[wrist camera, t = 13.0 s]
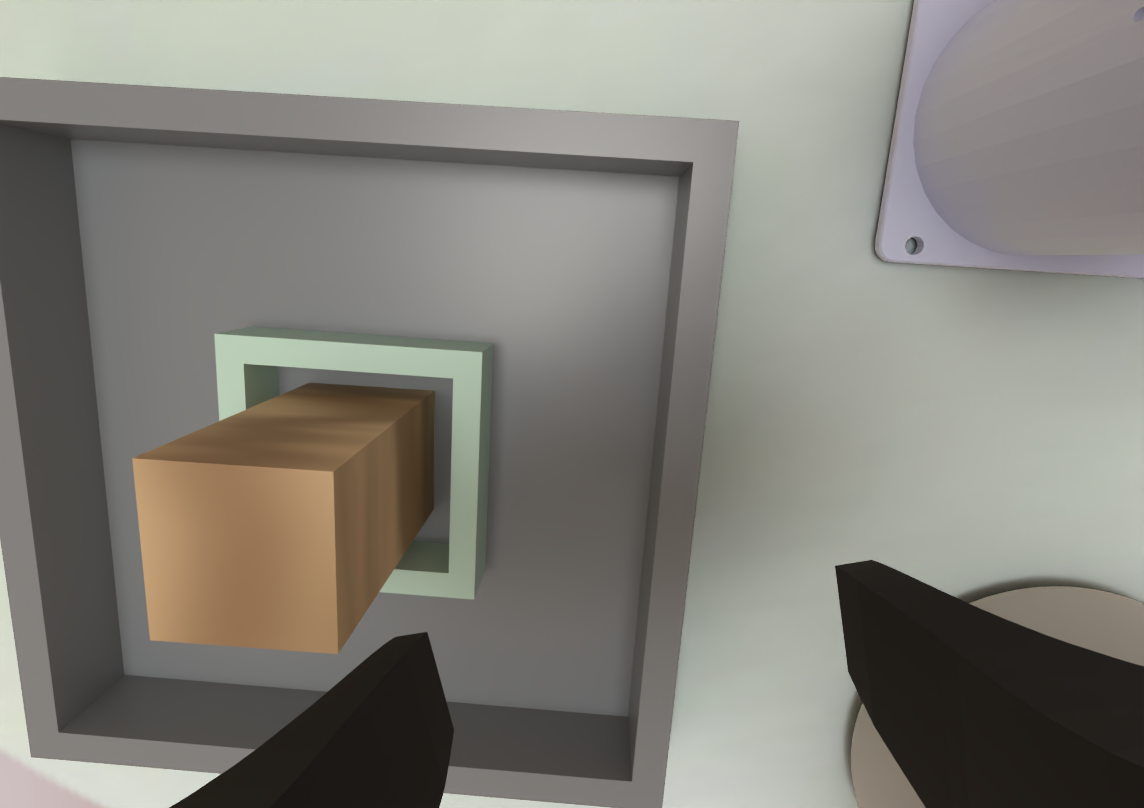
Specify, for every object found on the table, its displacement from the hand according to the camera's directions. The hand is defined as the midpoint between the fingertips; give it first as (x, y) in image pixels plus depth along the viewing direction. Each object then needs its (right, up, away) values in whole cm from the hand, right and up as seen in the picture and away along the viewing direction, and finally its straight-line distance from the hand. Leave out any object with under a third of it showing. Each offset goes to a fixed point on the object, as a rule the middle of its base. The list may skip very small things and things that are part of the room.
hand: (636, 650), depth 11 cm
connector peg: (-8, +3, +10) cm, 13 cm away
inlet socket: (-8, +3, +10) cm, 13 cm away
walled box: (-8, +3, +10) cm, 13 cm away
